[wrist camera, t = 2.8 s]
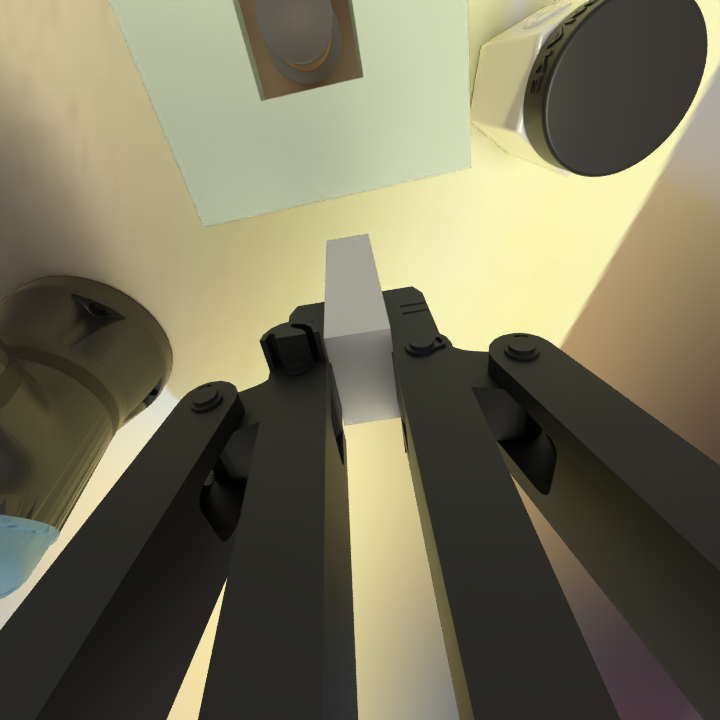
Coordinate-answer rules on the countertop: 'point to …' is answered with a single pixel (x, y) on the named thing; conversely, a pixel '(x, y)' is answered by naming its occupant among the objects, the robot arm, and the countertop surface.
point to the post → (300, 43)
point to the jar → (590, 82)
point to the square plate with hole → (303, 104)
